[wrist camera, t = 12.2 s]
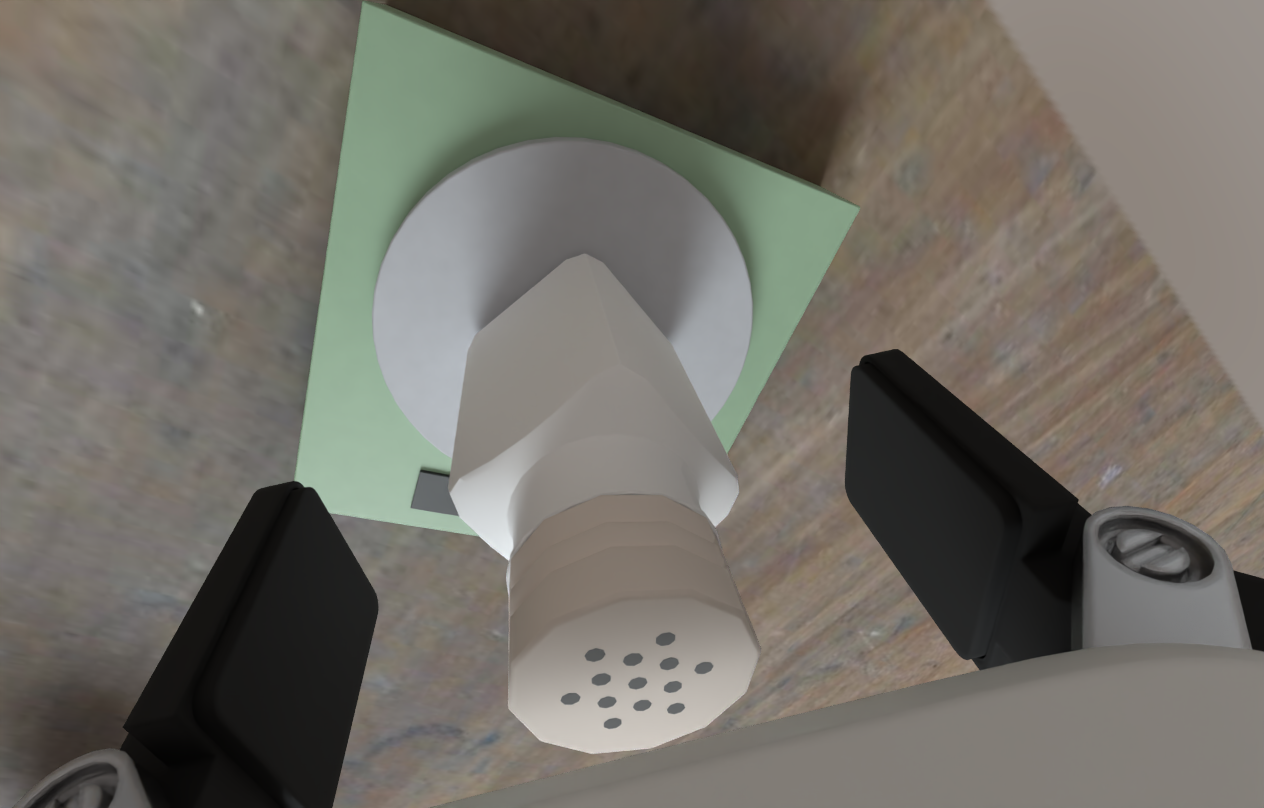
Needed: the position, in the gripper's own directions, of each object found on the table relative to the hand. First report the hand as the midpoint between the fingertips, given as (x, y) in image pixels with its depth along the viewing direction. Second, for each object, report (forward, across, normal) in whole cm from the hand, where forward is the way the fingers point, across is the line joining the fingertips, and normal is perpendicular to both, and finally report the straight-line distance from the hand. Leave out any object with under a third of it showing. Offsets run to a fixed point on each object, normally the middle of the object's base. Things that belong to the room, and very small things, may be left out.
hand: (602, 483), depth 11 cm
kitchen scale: (+9, +1, +1) cm, 9 cm away
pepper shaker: (+6, 0, 0) cm, 6 cm away
